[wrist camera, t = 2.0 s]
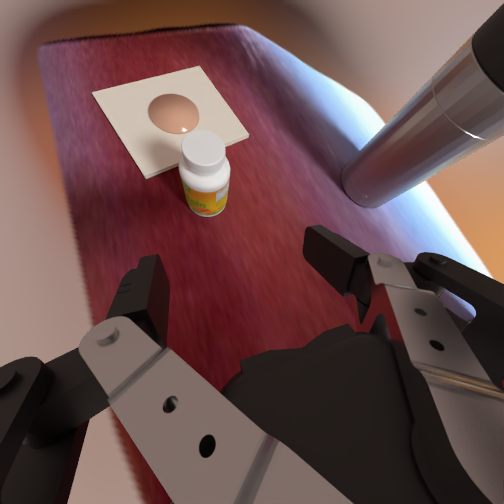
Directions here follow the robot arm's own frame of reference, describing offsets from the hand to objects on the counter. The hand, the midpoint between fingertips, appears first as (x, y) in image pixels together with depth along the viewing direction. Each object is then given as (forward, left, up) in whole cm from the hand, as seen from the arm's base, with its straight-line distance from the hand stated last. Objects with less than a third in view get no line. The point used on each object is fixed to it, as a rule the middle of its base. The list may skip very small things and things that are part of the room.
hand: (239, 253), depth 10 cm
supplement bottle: (-4, -11, -15) cm, 19 cm away
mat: (-7, -25, -15) cm, 30 cm away
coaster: (-7, -25, -14) cm, 29 cm away
